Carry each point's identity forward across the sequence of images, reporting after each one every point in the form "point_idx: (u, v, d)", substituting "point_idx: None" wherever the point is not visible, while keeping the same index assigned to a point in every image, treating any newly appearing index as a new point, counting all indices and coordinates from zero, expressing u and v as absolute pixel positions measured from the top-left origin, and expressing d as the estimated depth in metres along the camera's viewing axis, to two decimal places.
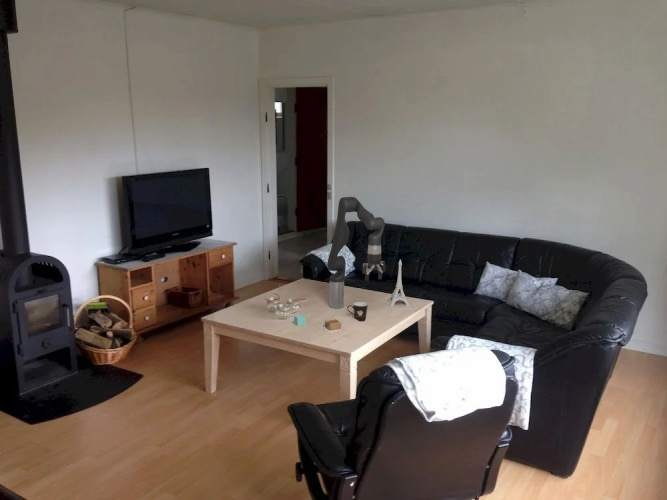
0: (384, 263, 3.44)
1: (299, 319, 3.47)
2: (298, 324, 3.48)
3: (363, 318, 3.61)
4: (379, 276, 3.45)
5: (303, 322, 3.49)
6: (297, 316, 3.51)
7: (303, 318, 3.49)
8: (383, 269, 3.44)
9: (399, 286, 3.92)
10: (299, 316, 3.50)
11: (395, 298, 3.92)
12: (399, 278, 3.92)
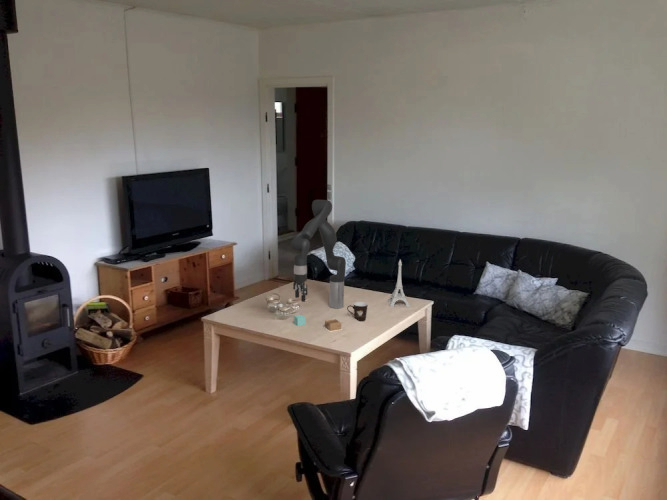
0: None
1: (299, 318, 3.47)
2: (298, 324, 3.48)
3: (363, 318, 3.61)
4: (297, 295, 3.51)
5: (303, 322, 3.49)
6: (297, 316, 3.51)
7: (303, 318, 3.49)
8: None
9: (399, 286, 3.92)
10: (299, 316, 3.50)
11: (395, 298, 3.92)
12: (399, 278, 3.92)
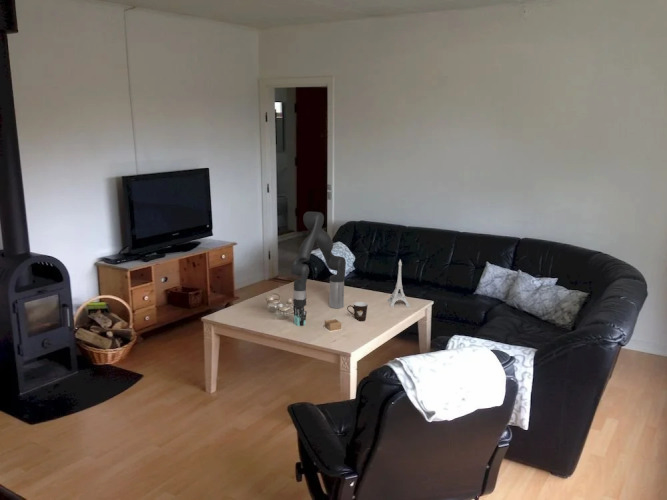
0: None
1: (299, 318, 3.47)
2: (298, 324, 3.48)
3: (363, 318, 3.61)
4: None
5: None
6: (297, 315, 3.51)
7: None
8: None
9: (399, 286, 3.92)
10: None
11: (395, 298, 3.92)
12: (399, 278, 3.92)
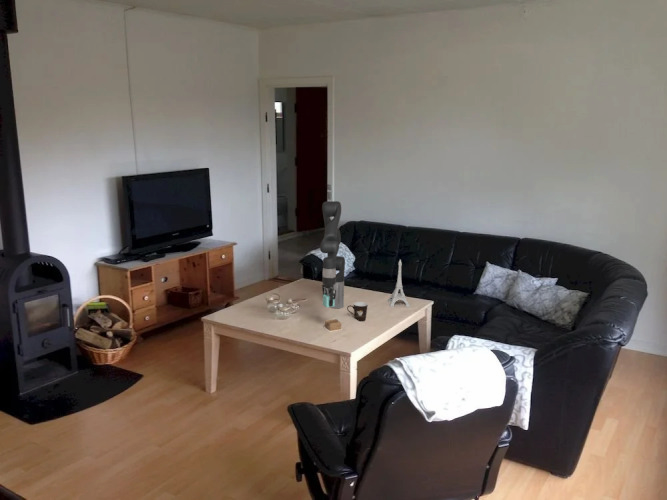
0: None
1: (328, 297, 3.38)
2: (327, 303, 3.39)
3: (363, 318, 3.61)
4: None
5: None
6: (326, 295, 3.42)
7: None
8: None
9: (399, 286, 3.92)
10: None
11: (395, 298, 3.92)
12: (399, 278, 3.92)
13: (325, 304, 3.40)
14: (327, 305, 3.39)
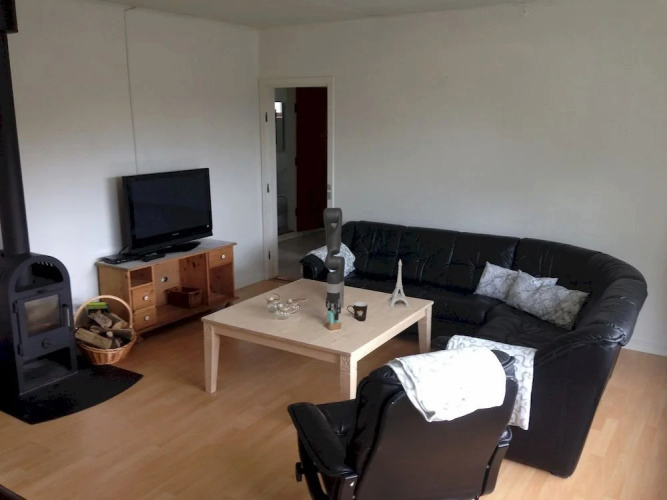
0: None
1: (332, 314, 3.40)
2: (331, 320, 3.40)
3: (363, 318, 3.61)
4: None
5: None
6: (330, 311, 3.43)
7: None
8: None
9: (399, 286, 3.92)
10: (332, 311, 3.42)
11: (395, 298, 3.92)
12: (399, 278, 3.92)
13: (329, 320, 3.41)
14: (331, 321, 3.40)
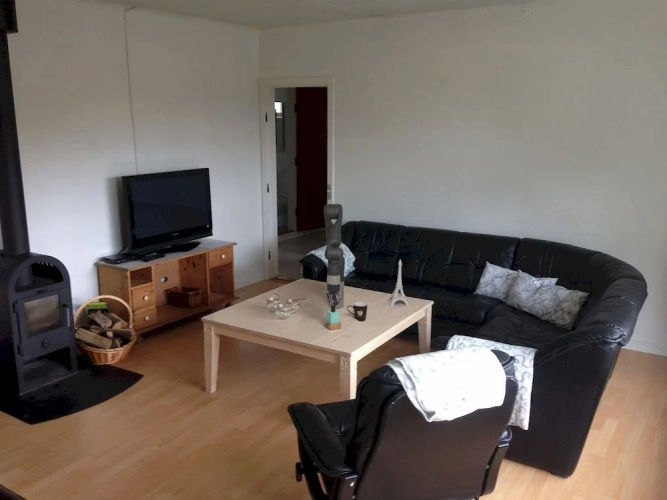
0: None
1: (332, 314, 3.40)
2: (331, 320, 3.40)
3: (363, 318, 3.61)
4: None
5: (337, 318, 3.42)
6: (330, 311, 3.43)
7: (336, 313, 3.41)
8: None
9: (399, 286, 3.92)
10: None
11: (395, 298, 3.92)
12: (399, 278, 3.92)
13: (329, 320, 3.41)
14: (331, 321, 3.40)
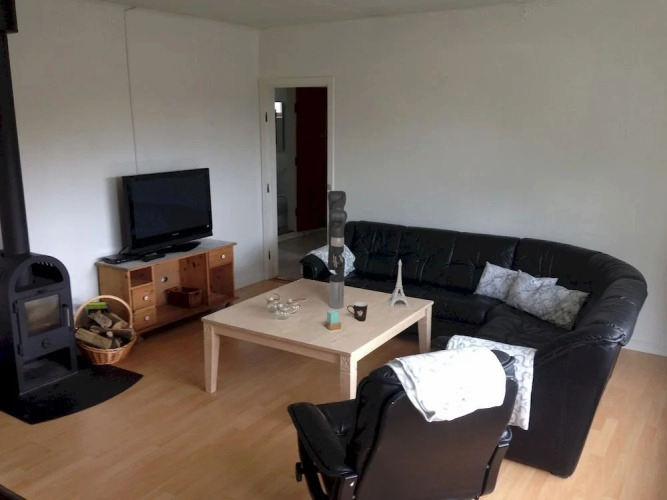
0: None
1: (332, 314, 3.40)
2: (331, 320, 3.40)
3: (363, 318, 3.61)
4: None
5: (337, 318, 3.42)
6: (330, 311, 3.43)
7: (336, 313, 3.41)
8: None
9: (399, 286, 3.92)
10: (332, 311, 3.42)
11: (395, 298, 3.92)
12: (399, 278, 3.92)
13: (329, 320, 3.41)
14: (331, 321, 3.40)
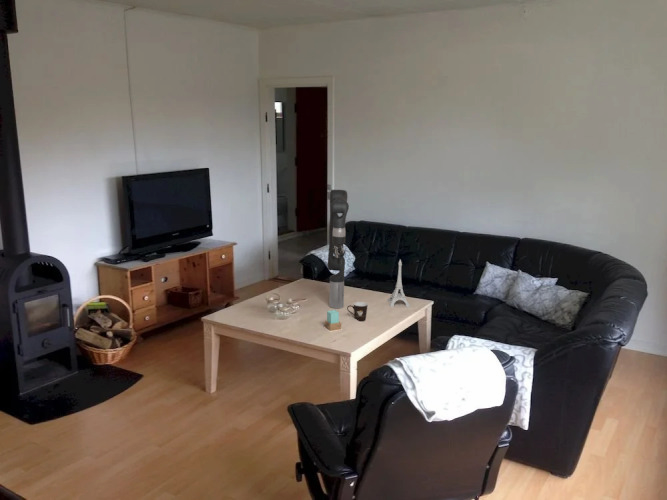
0: None
1: (332, 314, 3.40)
2: (331, 320, 3.40)
3: (363, 318, 3.61)
4: None
5: (337, 318, 3.42)
6: (330, 311, 3.43)
7: (336, 313, 3.41)
8: None
9: (399, 286, 3.92)
10: (332, 311, 3.42)
11: (395, 298, 3.92)
12: (399, 278, 3.92)
13: (329, 320, 3.41)
14: (331, 321, 3.40)
